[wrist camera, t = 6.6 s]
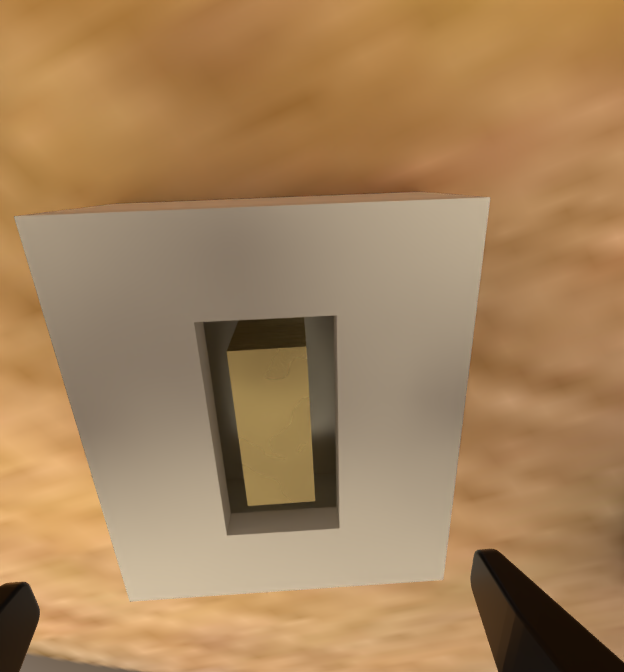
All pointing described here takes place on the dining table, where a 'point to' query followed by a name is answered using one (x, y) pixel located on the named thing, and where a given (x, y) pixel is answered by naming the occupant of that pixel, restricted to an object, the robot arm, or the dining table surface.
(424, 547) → the moneybox
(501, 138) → the dining table surface
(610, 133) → the dining table surface
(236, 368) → the two-tone wooden block
